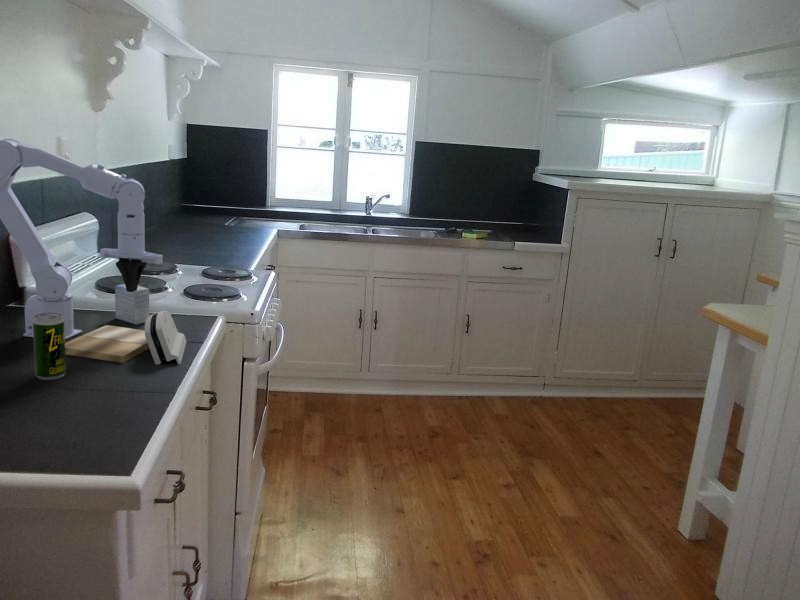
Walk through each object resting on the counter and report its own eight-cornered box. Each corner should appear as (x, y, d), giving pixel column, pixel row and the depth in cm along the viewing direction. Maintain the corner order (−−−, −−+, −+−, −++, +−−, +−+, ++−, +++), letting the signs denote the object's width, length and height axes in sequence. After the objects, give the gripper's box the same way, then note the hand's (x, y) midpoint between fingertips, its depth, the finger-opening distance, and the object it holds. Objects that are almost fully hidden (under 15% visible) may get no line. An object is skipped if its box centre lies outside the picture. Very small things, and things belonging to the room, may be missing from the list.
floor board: (82, 342, 152) (82, 335, 151) (106, 331, 160) (106, 325, 160) (144, 351, 149) (144, 344, 149) (165, 339, 158) (165, 333, 157)
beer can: (28, 377, 129) (25, 317, 127) (50, 369, 135) (48, 310, 132) (51, 382, 128) (48, 321, 125) (72, 374, 133) (70, 315, 130)
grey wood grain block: (150, 322, 171) (150, 288, 169) (134, 325, 167) (134, 291, 165) (130, 315, 175) (129, 282, 173) (114, 318, 171) (114, 285, 169)
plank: (58, 353, 144) (57, 346, 143) (82, 342, 151) (81, 335, 151) (123, 363, 141) (123, 356, 141) (143, 351, 149) (143, 344, 149)
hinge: (180, 364, 143) (163, 321, 140) (158, 371, 142) (140, 328, 139) (186, 340, 159) (171, 301, 156) (166, 347, 158) (151, 307, 155)
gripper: (91, 231, 152) (92, 290, 155) (151, 238, 150) (151, 298, 153) (110, 228, 159) (111, 284, 162) (167, 234, 156) (167, 292, 160)
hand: (131, 291), depth 158 cm, fingers closed
